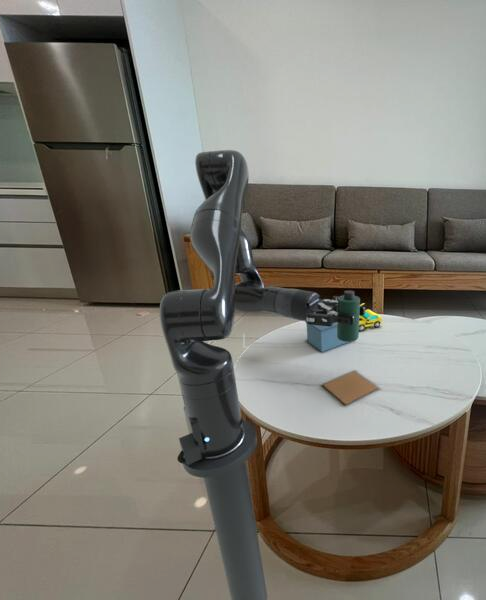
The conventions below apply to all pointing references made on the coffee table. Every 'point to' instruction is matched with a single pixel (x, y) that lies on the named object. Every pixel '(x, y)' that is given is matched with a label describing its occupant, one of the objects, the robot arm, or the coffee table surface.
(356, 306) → the bottle
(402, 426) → the coffee table surface
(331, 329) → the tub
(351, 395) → the mat
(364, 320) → the toy car
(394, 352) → the coffee table surface
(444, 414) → the coffee table surface
